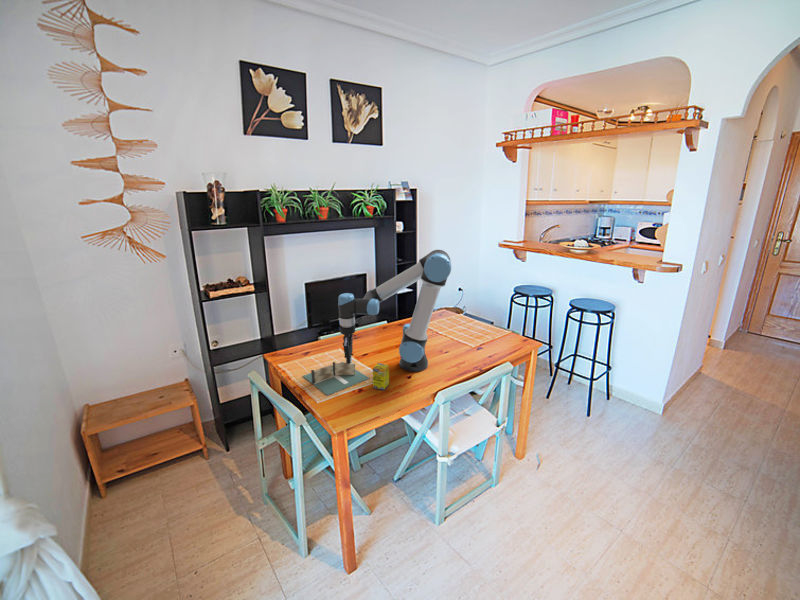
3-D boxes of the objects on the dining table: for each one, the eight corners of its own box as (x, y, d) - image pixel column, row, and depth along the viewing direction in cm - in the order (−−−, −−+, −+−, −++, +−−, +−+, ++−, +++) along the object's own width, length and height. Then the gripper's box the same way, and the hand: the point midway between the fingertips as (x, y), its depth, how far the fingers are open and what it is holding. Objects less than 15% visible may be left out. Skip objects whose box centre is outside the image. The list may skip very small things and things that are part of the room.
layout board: (369, 378, 187) (369, 377, 187) (327, 395, 172) (327, 394, 172) (343, 362, 204) (342, 361, 204) (302, 376, 189) (302, 375, 189)
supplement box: (372, 388, 178) (372, 368, 174) (378, 382, 183) (377, 362, 180) (384, 391, 176) (384, 370, 172) (389, 385, 181) (389, 364, 178)
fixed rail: (331, 375, 189) (330, 363, 187) (333, 376, 188) (332, 364, 186) (311, 382, 182) (310, 370, 180) (313, 384, 181) (312, 371, 179)
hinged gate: (333, 375, 189) (332, 363, 187) (333, 374, 190) (332, 361, 188) (355, 374, 189) (354, 362, 187) (355, 373, 191) (355, 361, 189)
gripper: (342, 319, 190) (344, 361, 197) (336, 329, 177) (339, 374, 185) (357, 320, 189) (358, 362, 196) (352, 330, 177) (354, 374, 184)
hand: (349, 368), depth 190 cm, fingers closed
